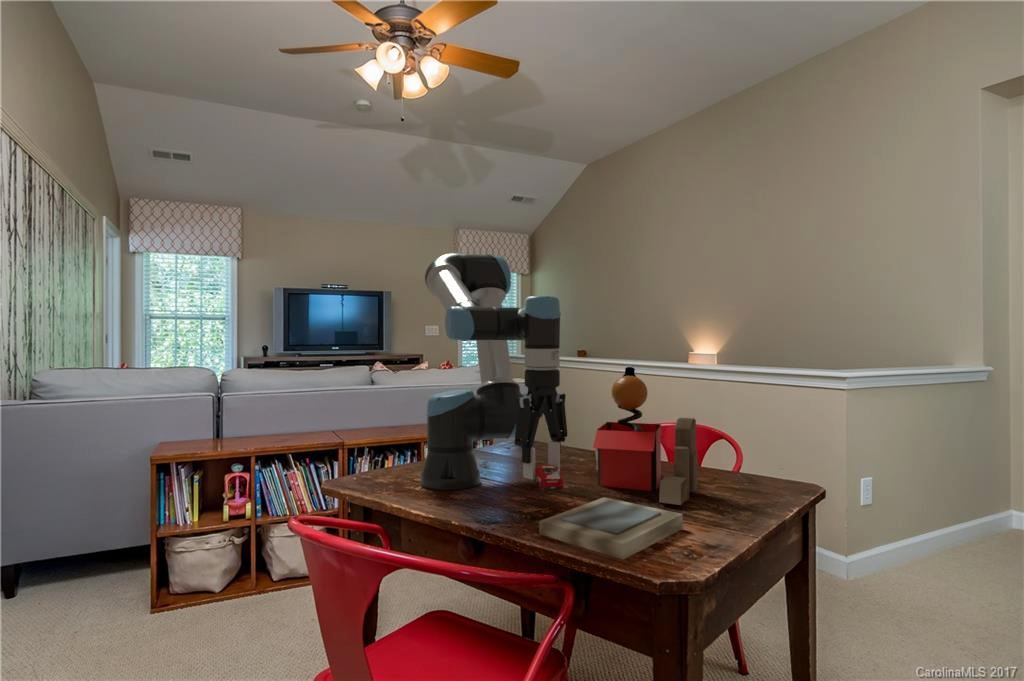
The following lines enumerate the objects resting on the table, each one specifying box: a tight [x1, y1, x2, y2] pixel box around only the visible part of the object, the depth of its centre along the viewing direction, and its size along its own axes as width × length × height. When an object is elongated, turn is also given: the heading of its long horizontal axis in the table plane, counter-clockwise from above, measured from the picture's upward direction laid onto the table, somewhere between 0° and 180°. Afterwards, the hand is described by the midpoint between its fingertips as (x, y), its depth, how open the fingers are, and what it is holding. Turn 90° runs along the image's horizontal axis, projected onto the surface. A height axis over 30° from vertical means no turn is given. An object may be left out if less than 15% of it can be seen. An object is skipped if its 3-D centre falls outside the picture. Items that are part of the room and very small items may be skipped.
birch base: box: [538, 496, 684, 560], centre depth 108 cm, size 18×22×3 cm
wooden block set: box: [658, 417, 699, 506], centre depth 132 cm, size 17×6×18 cm, turn 149°
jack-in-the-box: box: [592, 366, 664, 492], centre depth 148 cm, size 26×16×30 cm, turn 160°
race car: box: [533, 464, 565, 491], centre depth 119 cm, size 13×5×4 cm, turn 5°
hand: (541, 474), depth 122 cm, fingers closed on race car, 8 cm apart
